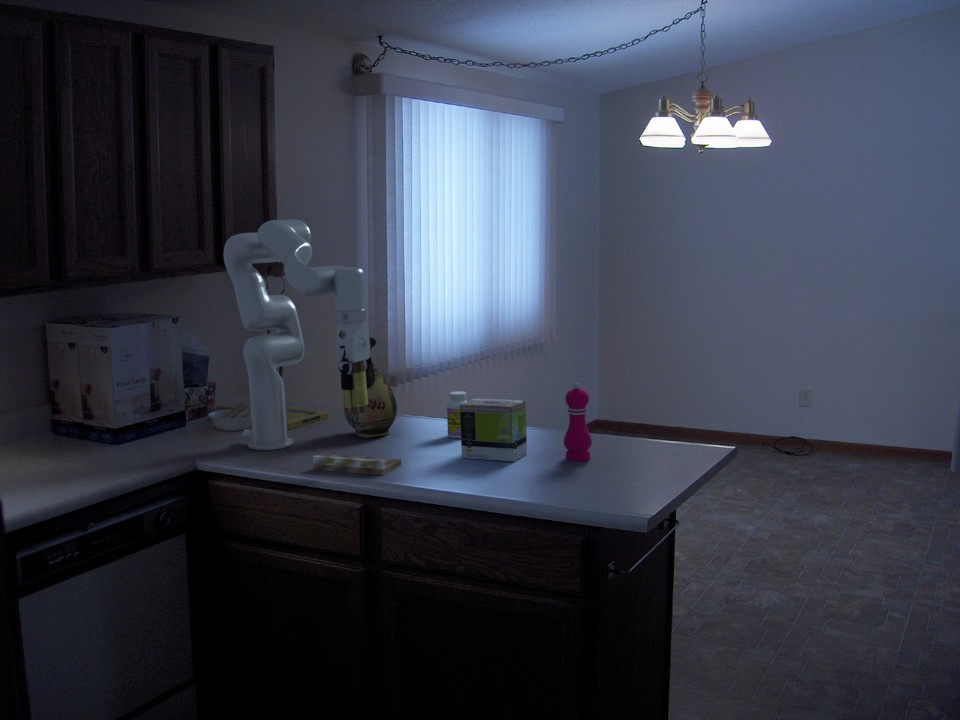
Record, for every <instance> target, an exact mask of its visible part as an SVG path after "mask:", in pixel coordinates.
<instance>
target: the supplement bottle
mask: <svg viewBox="0 0 960 720" xmlns="http://www.w3.org/2000/svg"><path fill="white" fill-rule="evenodd" d="M449 398H450V400H449V401H448V402H447V404H446V420H447V421H446V423H447V424H446V425H447V436H448V437H449V438H451V439H455V438H461V425H460V404H463V403H465V402H468V401H469V400H467V399H466V398H467V392H466V391H463V390H462V391H459V390H458V391H451V392H450V393H449Z"/></svg>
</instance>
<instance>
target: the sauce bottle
mask: <svg viewBox="0 0 960 720" xmlns="http://www.w3.org/2000/svg"><path fill="white" fill-rule="evenodd" d="M345 361H348V360H345ZM348 362H349V361H348ZM346 366H347V368H348V365H346ZM351 374H353V386H354V389H353V390H342V389H341V391H342V403H343V410H344V409H345V412H346V413H349V414H359V413H364V412H366V411H368V396H367V385H366V373H365V366H364V361H361V362H358V363H353V365H352V372H351Z"/></svg>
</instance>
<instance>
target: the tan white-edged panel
mask: <svg viewBox="0 0 960 720" xmlns="http://www.w3.org/2000/svg"><path fill="white" fill-rule="evenodd" d="M400 465H401V466H402V460H401V459H399V458H398V459H397V458H396V459H395V458H385V457H384V458H383V457H373V456H372V457H371V456H370V457H369V456H358V455H355V456H354V455H343V454H331V455H329V456H328V455H313V456H312V466H313V470H315V471H329V472H339V473H350V472H351V474H363V473H364V474H365V473H366V475H375V474H379V475H378V476H385V475H386V474H388V473H389V471H390V472H392V471H393V470H395V469H397V468H398V466H399V467H400ZM396 467H397V468H396ZM394 468H395V469H394ZM391 470H392V471H391ZM387 472H388V473H387ZM385 473H386V474H385ZM384 474H385V475H384Z"/></svg>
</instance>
